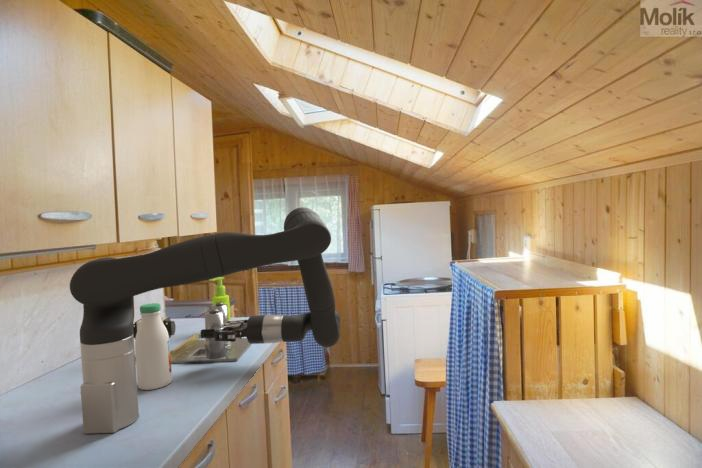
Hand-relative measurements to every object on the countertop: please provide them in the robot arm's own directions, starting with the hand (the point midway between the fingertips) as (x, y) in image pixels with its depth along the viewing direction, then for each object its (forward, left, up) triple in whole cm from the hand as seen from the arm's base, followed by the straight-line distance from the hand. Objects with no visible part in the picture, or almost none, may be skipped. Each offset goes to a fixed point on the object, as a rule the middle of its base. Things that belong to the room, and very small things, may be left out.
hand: (205, 331), depth 113 cm
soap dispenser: (+35, +8, -10) cm, 37 cm away
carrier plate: (+14, +3, -10) cm, 18 cm away
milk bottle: (-11, +9, -10) cm, 17 cm away
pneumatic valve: (+13, +21, -10) cm, 27 cm away
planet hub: (0, -3, -7) cm, 7 cm away
